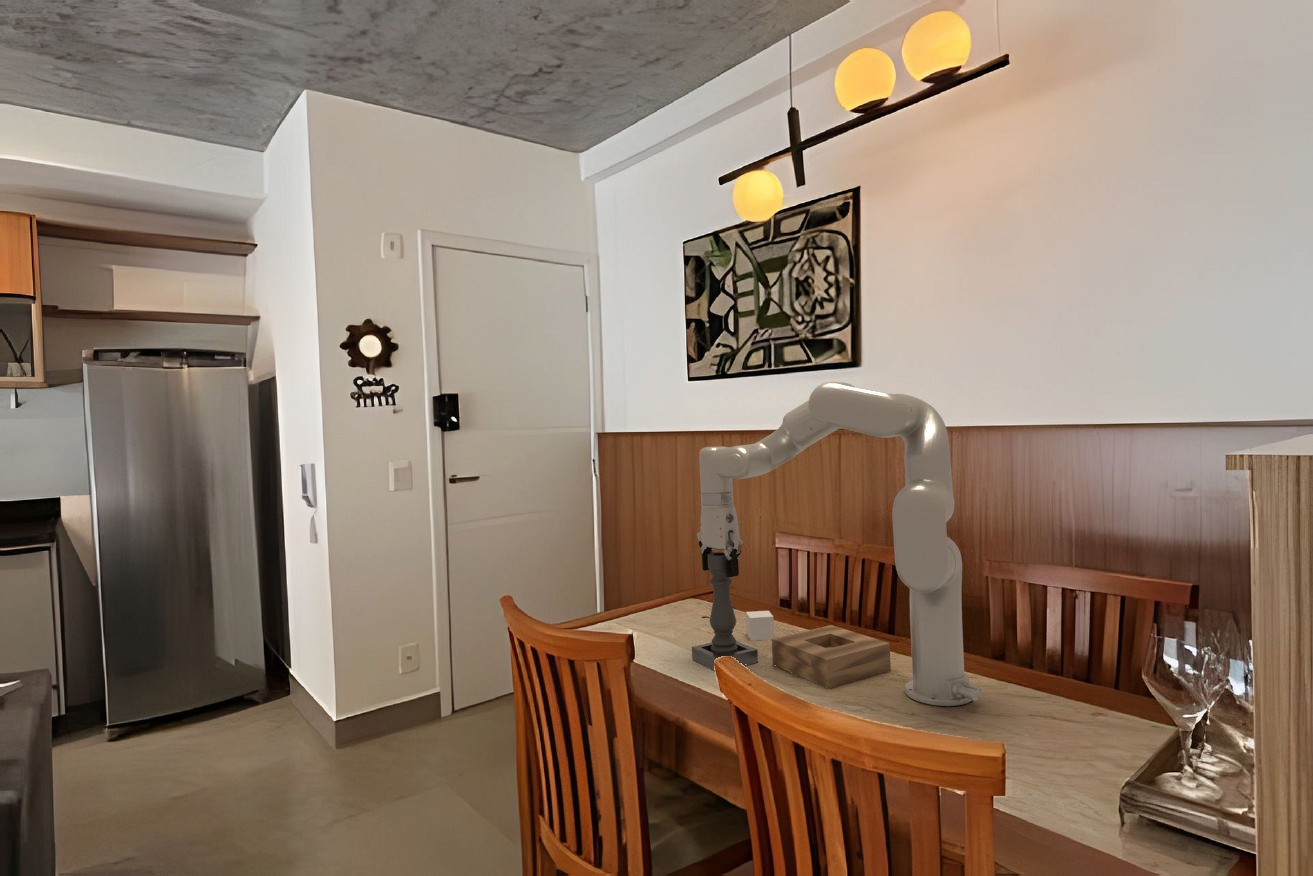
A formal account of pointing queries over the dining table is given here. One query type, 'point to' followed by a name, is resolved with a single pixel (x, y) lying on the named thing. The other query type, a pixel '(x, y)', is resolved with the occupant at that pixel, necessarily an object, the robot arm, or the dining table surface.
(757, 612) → the white cube
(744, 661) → the metal collar
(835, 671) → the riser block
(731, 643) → the candle holder
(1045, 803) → the dining table surface
